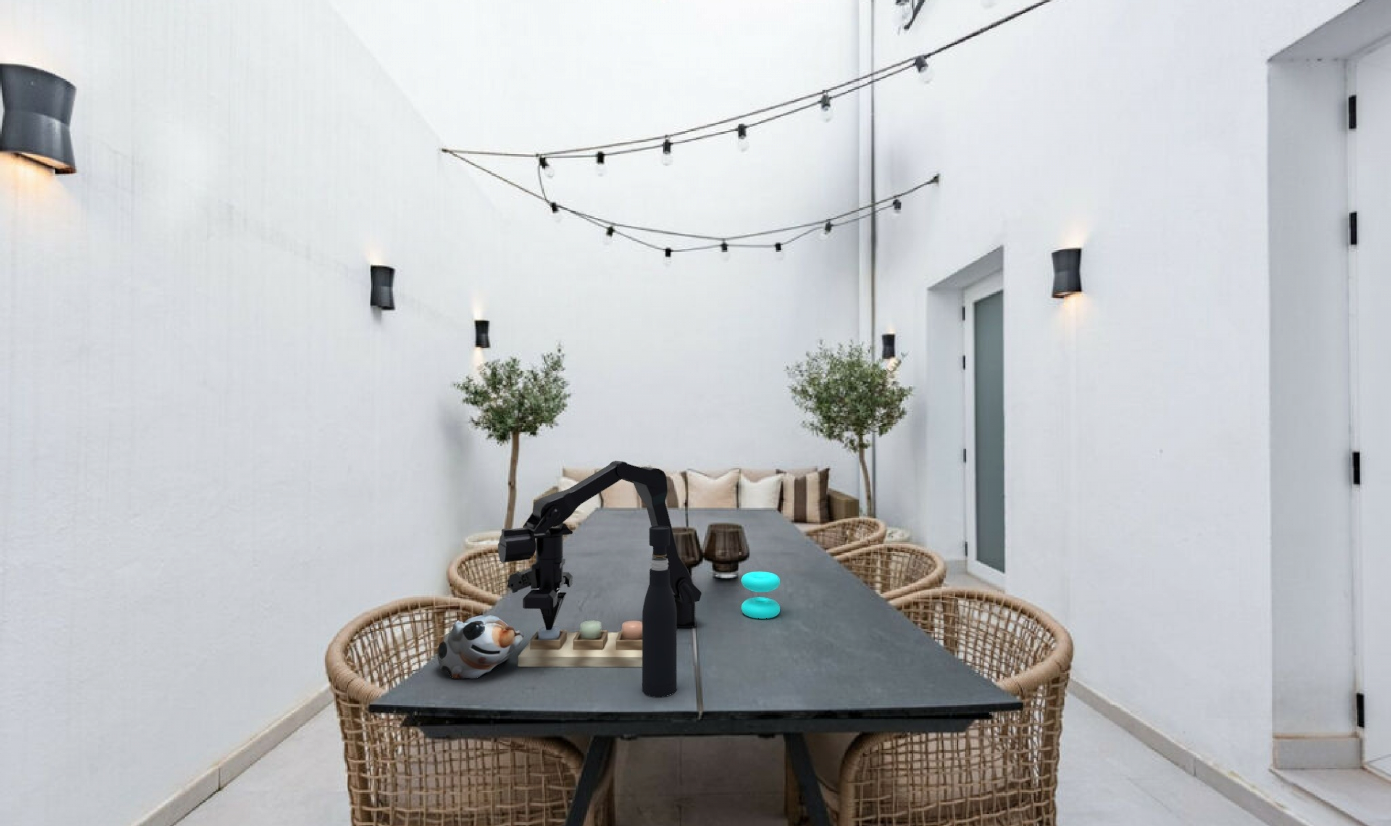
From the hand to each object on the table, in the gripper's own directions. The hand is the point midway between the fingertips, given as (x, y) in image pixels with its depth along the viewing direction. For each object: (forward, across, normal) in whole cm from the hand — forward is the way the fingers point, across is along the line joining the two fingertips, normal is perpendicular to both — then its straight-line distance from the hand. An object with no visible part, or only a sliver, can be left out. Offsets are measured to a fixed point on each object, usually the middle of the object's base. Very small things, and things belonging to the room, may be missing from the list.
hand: (549, 629), depth 128 cm
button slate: (+2, 0, 0) cm, 2 cm away
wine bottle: (+5, +17, +25) cm, 31 cm away
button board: (+5, 0, +9) cm, 10 cm away
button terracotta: (+1, 0, +18) cm, 18 cm away
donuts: (+5, -27, +48) cm, 55 cm away
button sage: (+1, 0, +9) cm, 9 cm away
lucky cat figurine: (+5, +8, -12) cm, 15 cm away
